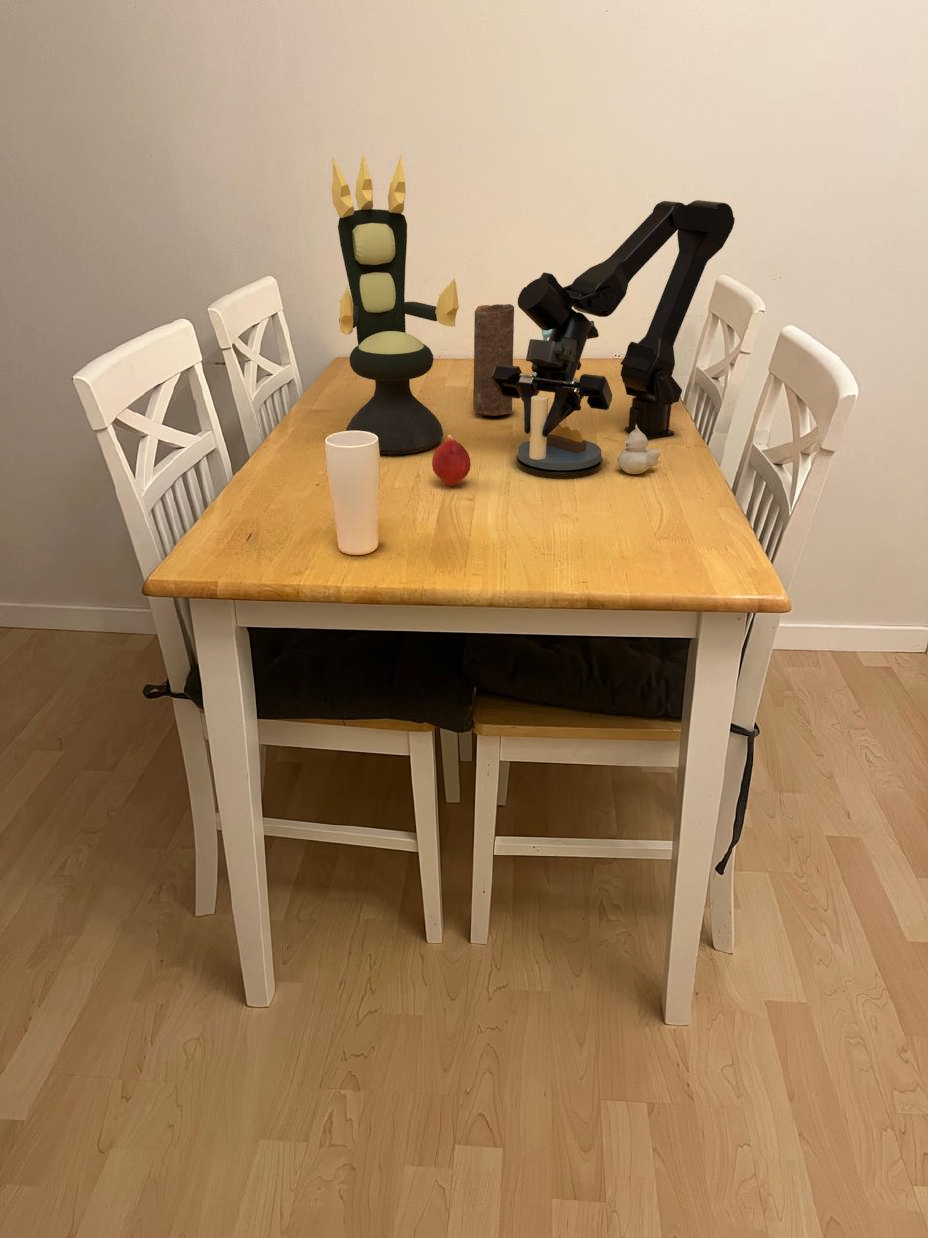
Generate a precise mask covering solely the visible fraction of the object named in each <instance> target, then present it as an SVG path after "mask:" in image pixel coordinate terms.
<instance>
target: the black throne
mask: <svg viewBox="0 0 928 1238" xmlns="http://www.w3.org/2000/svg"><path fill="white" fill-rule="evenodd" d="M372 181H373V180H372V177H371V173H370V170H369V167H368V163H367V160H366V157H365V154H364V152H362V154H361V160H360V164H359V169H358V174H357V178H356V181H355V192H354V195H355V196H354V197H355V200H356V205H357V209H355V206H354V203H353V197H352V193H351V189H350V186H349V184H348V182H347V180H346V179H345V177H344V174H343V173H342V171H341V169H340V167H339V166H338V164H337V162H336V161H335V160H334V158H332V183H331V188H330V189H331V190H330V191H331V199H332V205H333V207H334V208H335V210H336V213H337V215H338V217H339V219H338V223H337V231H338V237H339V244H340V249H341V254H342V259H343V262H344V263H343V264H344V267H345V273H346V277H347V282H348V285H346V287H345V290H344V292H343V295H342V296H341V298H340V300H339V318H338V322H339V331H340V332H341V333H342V334H343V335H345V336H348V335H349V336H350V335H351V334H352V333H353V332H354V329H356V340H357V345H356V346H355V347H354V348H353V349H352V350H351V352H350V355H349V365H350V368H351V370H352V371H353V372H354V374H355V375H357V376H358V377H361V378H364V379H367V380H372V381H374V382H375V383H374V385H375V389H374V393H373V395H372V397H371V398H370V399H369V400H368V401H367V403H365V404H364V405H363V406H362V407H360V409H358V411H357V412H355V414H354V415H353V416H352V417H351V419H350V421H349V423H348V424H347V426H346V430H345V431H365V432H370V433H373V434H375V435H376V436H377V437H378V441H379V452H380V455H387V456H389V455H406V454H416V453H419V452H423V451H428V450H429V449H431V448H433V447H435V446H436V445H437V444H438V443H439V442H440V441H441V440H442V438H443V437H444V431H443V427H442V424H441V422H440V420H439V419H438V418H437V416H436V415H435V414H434V413H433V412H432V411H431V410H430V409H429V408H428V407H427V406H426V405H425V404H423V403H422V402H421V401H420V400H419V399H417V398H416V397H415V396H414V395H413V393H412V390H411V384H410V383H411V380H413V379H417V378H419V377H422V376H424V375H426V374H428V373H429V371H430V370H431V369H432V367H433V364H434V354H433V352H432V350H431V348H430V347H429V346H428V345H426V344H424V342H423V341H421V340H420V339H418V338H417V337H416V336H414V335H412V334H410V333H406V330H407V329H406V315H408V316H412V317H415V318H419V319H423V320H428V321H432V322H438V323H439V324H440V325H443V326H446V327H452V328H453V327H456V317H457V312H458V310H459V308H460V306H459V299H458V290H457V289H458V288H457V283H456V278H453V279H452V280H451V281H450V283H449V285H446V287H445V288H444V289H443V290H442V292H441V293H440V294H439V296H438V300H437V303H436V305H431V304H428V303H424V302H418V301H406V299H405V292H406V291H405V290H406V265H407V264H406V263H407V248H408V247H407V246H408V245H407V244H408V222H407V219H406V216H405V215H404V214H403V212H404V211H405V200H406V192H407V191H406V177H405V171H404V165H403V158H402V154H399V158H398V162H397V165H396V168H395V170H394V173H393V175H392V180H391V181H390V184H389V189H388V194H387V203H388V209H379V208H378V209H377V208H374V187H373V182H372Z"/></svg>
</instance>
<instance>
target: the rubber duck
mask: <svg viewBox="0 0 928 1238" xmlns="http://www.w3.org/2000/svg"><path fill="white" fill-rule="evenodd" d="M623 443H624V444H625V448H624V449H623V450H622V451H621V452H620V453H619V455H618V456H617V463H618V466H619V468H621V470H622V471H624V472H625V473H626V474H629V475H641V474H643V473H645V472H646V471H647V470H648V469H649V468H650V467H656V466H658V465H659V457H660V456H661V451H660V449H658V448H649V449H647V448H648V446H649V439H647V438H646V436H645V435H644V434H643V433H642V432H641V431H640V430H639V429H638V427H637V425H635V430H634V431H632V432H631V433H630V432H629V435H628V437H627V438H626V439H625V440H624V441H623Z"/></svg>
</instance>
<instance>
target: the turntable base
mask: <svg viewBox="0 0 928 1238" xmlns="http://www.w3.org/2000/svg"><path fill="white" fill-rule="evenodd" d="M603 461H604V460H603V457H602V456H601V460H600V461H599V462H598V463H597V464H595V465H593V466H591V467H587V468H583V469H576V470H549V469H542V468H537V467H533V466H530V465H527V464H525V463H523V462H522V461H521V460H520V459H519V458H518V454H516V456H515V466H516V467H517V468H518V469H519V470H520V471H521V472H524V473H526V474H528V475H531V476H535V477H539V478H543V479H544V478H545V479H554V480H557V479H558V480H560V479H561V480H568V479H578V478H584V477H588V476H592V475H594V474H597V473H598V472H600V471H601V470H602V468H603V463H604V462H603Z"/></svg>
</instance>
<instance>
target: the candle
mask: <svg viewBox="0 0 928 1238" xmlns="http://www.w3.org/2000/svg"><path fill="white" fill-rule="evenodd" d="M473 323H474V325H473V327H474V332H473V356H474V357H473V388H472V389H473V390H472V392H473V394H472V395H473V396H472V398H473V400H472V402H473V403H472V407H473V411H474V413H475V414H476V415H478V416H483V417H484V416H485V417H486V416H487V417H497V416H504V415H510V414H512V412H513V398H509V397H504V396H502V395H500V393H499V392H498V390H497V388H496V386H495V384H494V383H493V381H492V379H491V375H492V373H493V370H494V368H495V367H496V366H498V365H500V364H502V365H510V366H514V334H515V333H514V332H515V305H513V304H511V303H506V304H503V303H501V304H491V305H490V304H483V305H482V304H481V305H478V306H477V307H476V308H475V310H474V322H473Z"/></svg>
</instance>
